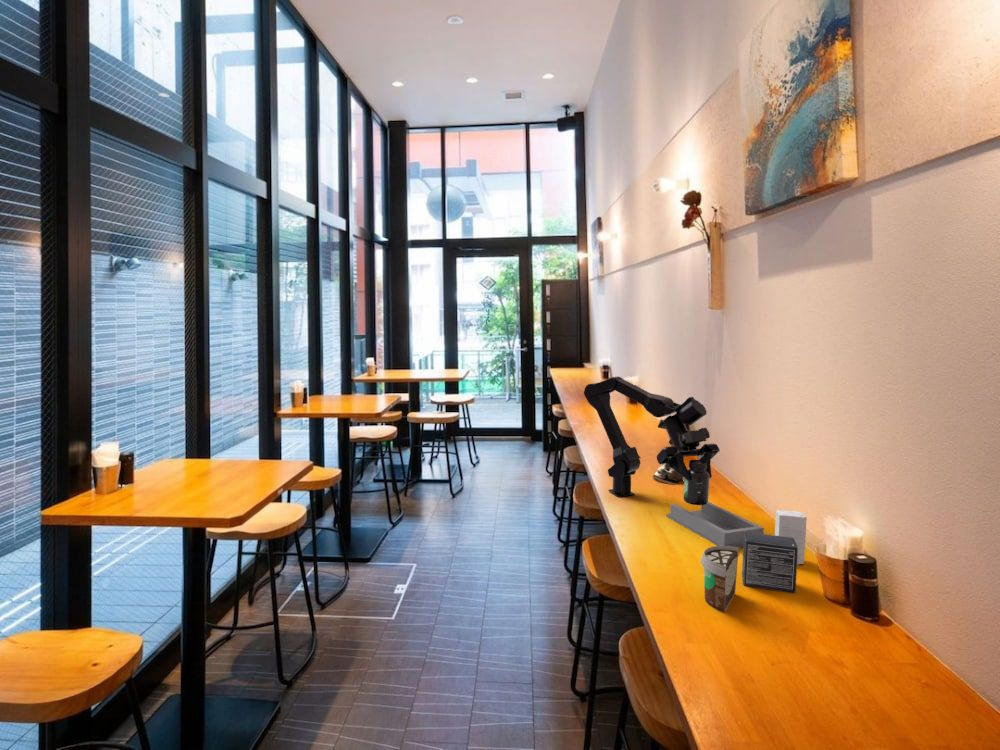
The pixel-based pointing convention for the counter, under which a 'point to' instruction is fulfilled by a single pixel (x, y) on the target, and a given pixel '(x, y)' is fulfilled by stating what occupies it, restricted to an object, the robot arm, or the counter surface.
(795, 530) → the skincare box
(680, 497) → the counter surface
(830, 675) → the counter surface
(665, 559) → the counter surface
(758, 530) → the gray rectangular tray
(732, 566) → the food container
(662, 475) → the skull
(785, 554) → the small box
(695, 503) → the supplement bottle
